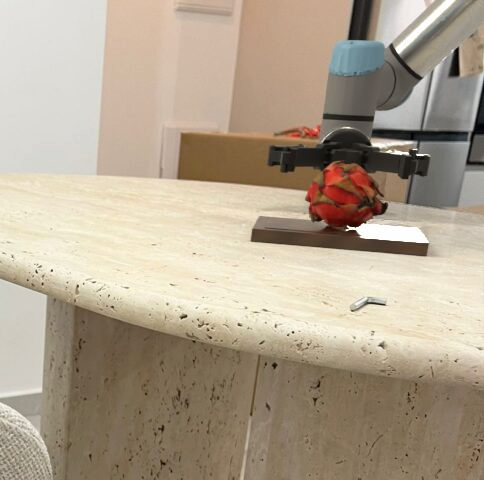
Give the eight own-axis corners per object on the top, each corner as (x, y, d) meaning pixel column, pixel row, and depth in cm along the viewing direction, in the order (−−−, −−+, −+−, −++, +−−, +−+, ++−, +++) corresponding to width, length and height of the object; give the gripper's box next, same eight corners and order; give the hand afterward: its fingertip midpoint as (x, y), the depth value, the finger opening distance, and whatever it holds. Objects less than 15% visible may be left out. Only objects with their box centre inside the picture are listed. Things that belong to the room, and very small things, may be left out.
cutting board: (416, 240, 121) (418, 227, 121) (426, 256, 109) (429, 242, 108) (257, 227, 126) (259, 215, 126) (250, 241, 114) (252, 227, 113)
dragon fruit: (319, 232, 124) (361, 262, 113) (277, 192, 120) (317, 219, 110) (367, 181, 121) (414, 206, 111) (326, 138, 118) (371, 160, 107)
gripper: (431, 188, 134) (450, 203, 115) (252, 176, 140) (242, 188, 121) (441, 132, 131) (463, 138, 112) (259, 122, 137) (250, 126, 118)
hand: (348, 164), depth 116 cm, fingers open, 13 cm apart
